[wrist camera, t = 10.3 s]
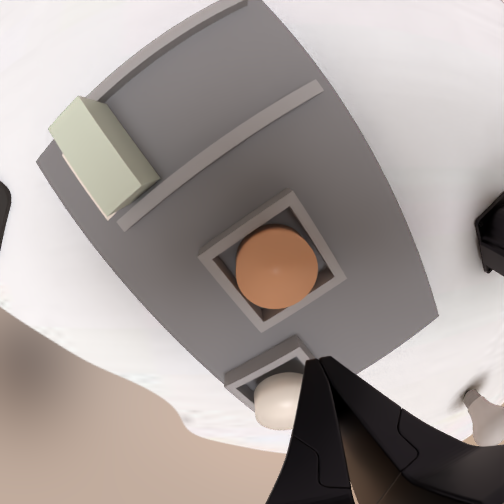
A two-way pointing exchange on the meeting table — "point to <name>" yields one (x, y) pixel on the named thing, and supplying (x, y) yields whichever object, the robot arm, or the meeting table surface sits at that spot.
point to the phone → (4, 208)
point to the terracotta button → (275, 266)
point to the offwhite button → (278, 400)
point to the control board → (250, 201)
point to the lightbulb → (485, 419)
